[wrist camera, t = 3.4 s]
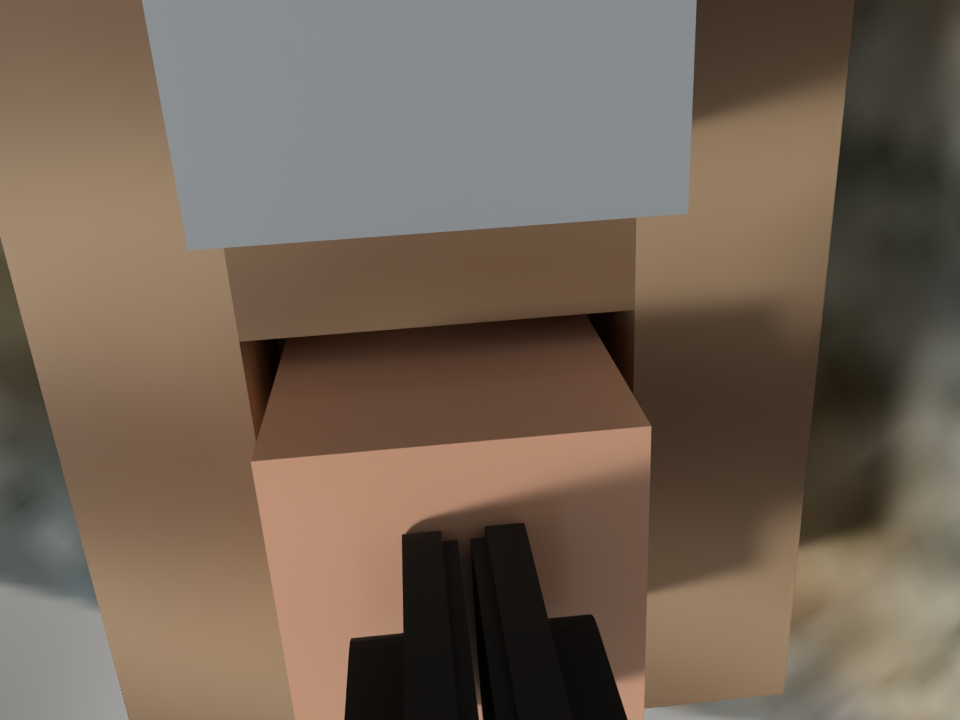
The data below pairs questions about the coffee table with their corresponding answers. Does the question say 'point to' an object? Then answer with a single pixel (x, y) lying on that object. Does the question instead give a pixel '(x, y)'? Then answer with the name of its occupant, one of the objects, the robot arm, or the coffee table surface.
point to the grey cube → (421, 114)
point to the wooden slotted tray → (409, 304)
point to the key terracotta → (450, 484)
